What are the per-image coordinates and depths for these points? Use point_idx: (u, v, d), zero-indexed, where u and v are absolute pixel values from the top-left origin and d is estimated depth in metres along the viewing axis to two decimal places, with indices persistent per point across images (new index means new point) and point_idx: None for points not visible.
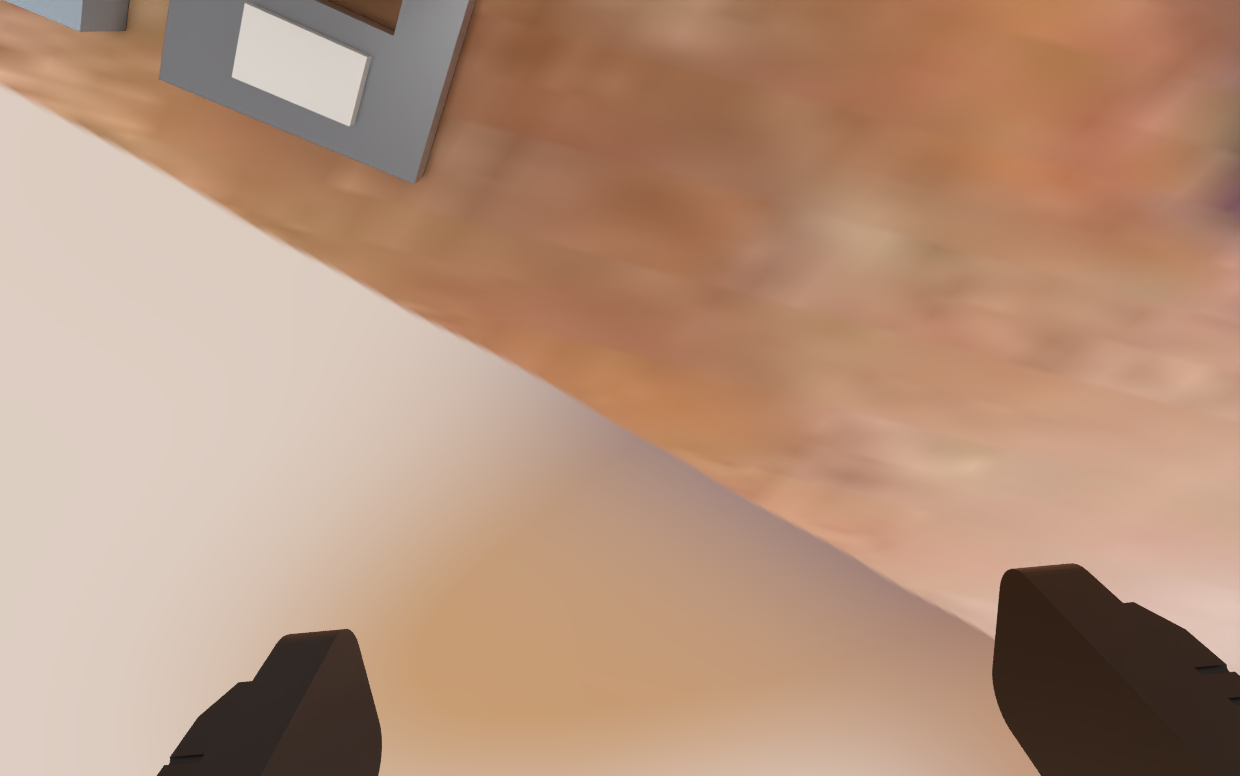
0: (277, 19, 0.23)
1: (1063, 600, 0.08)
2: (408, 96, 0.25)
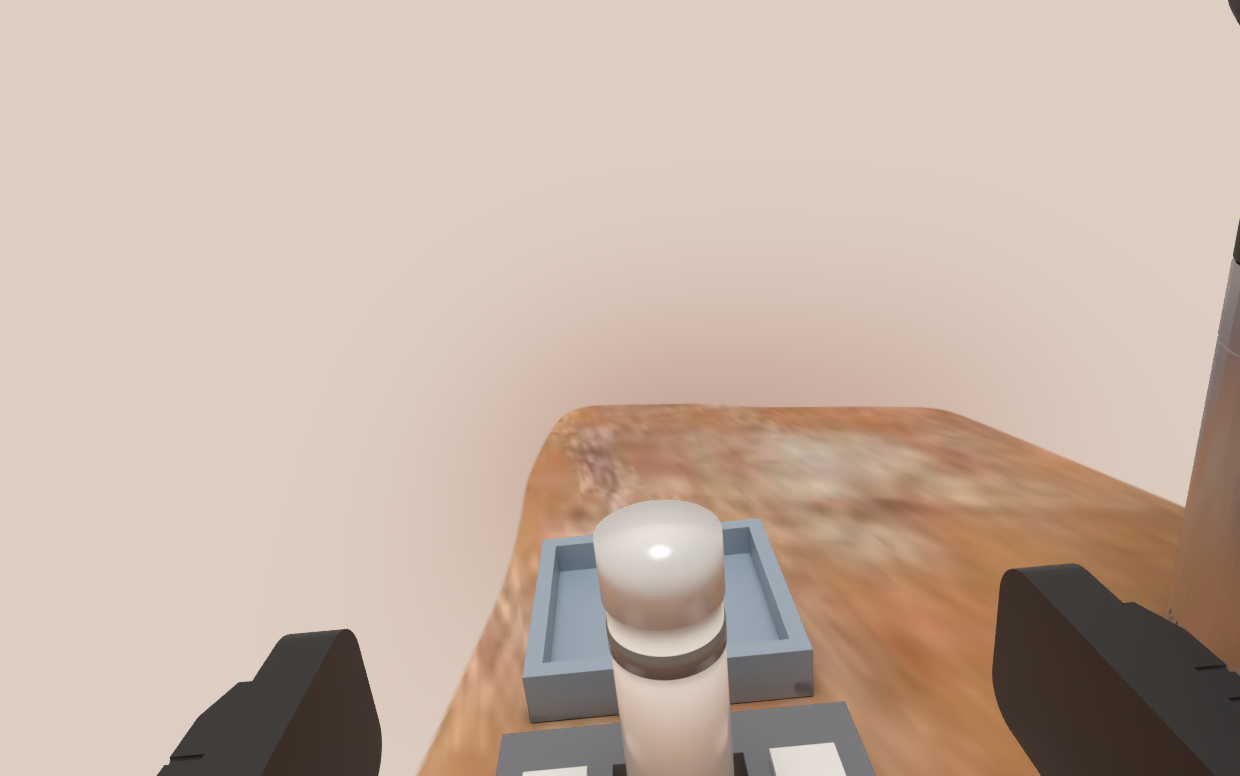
0: None
1: (1063, 600, 0.08)
2: None
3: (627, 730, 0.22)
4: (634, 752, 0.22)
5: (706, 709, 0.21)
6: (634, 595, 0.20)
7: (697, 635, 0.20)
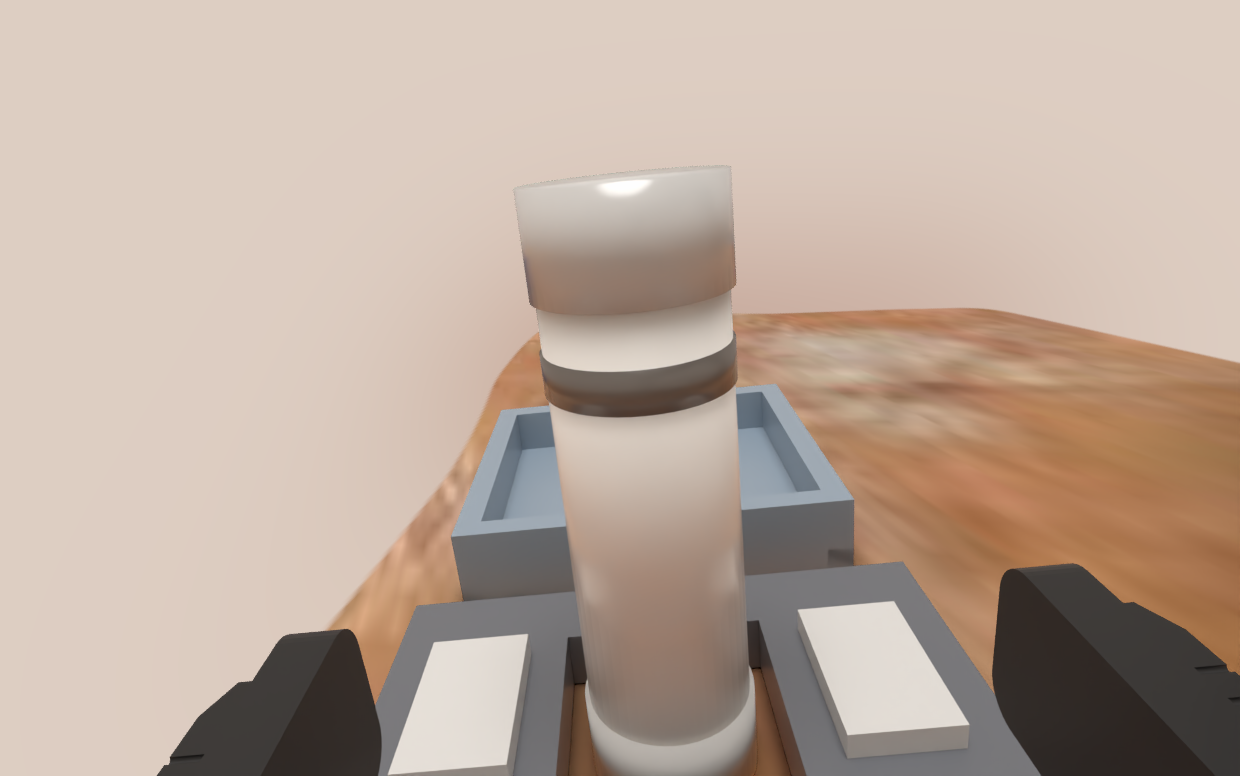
0: (520, 662, 0.17)
1: (1063, 600, 0.08)
2: None
3: (575, 533, 0.14)
4: (586, 568, 0.14)
5: (702, 483, 0.13)
6: (577, 248, 0.11)
7: (687, 335, 0.12)
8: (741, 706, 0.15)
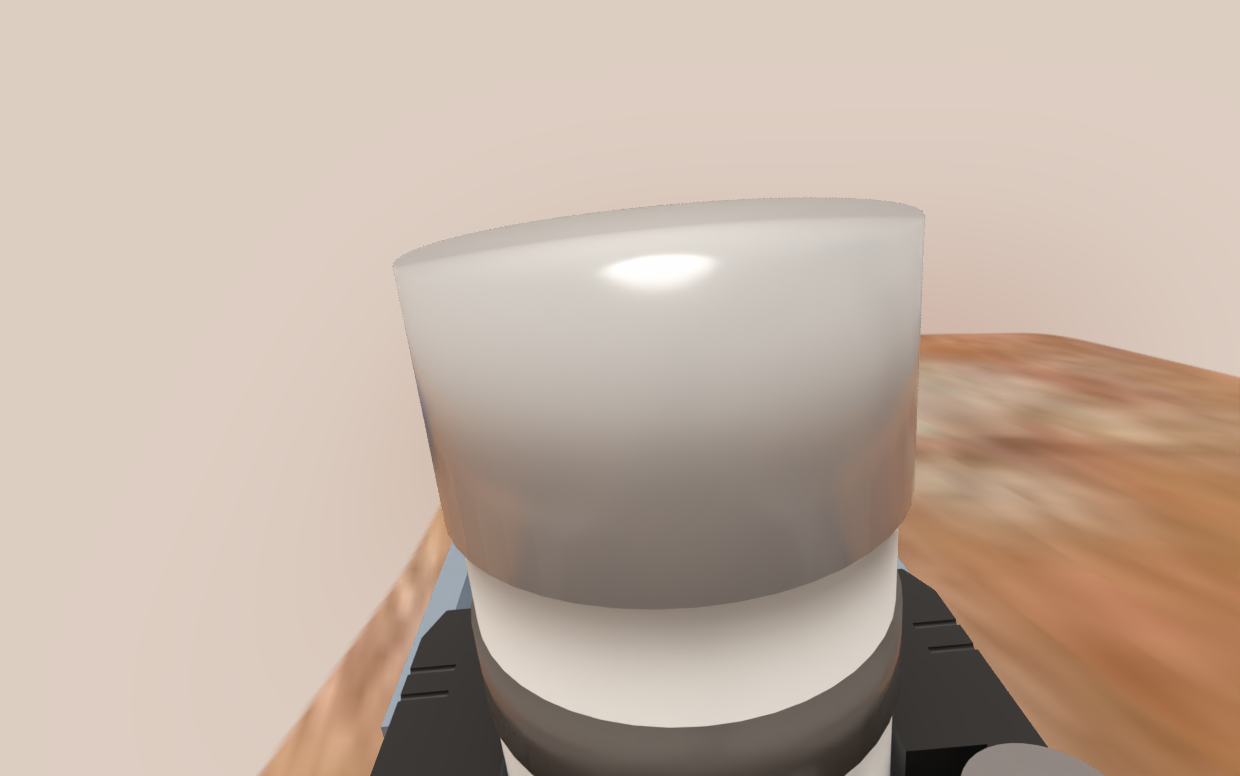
0: None
1: None
2: None
3: None
4: None
5: None
6: (539, 440, 0.04)
7: (822, 635, 0.05)
8: None
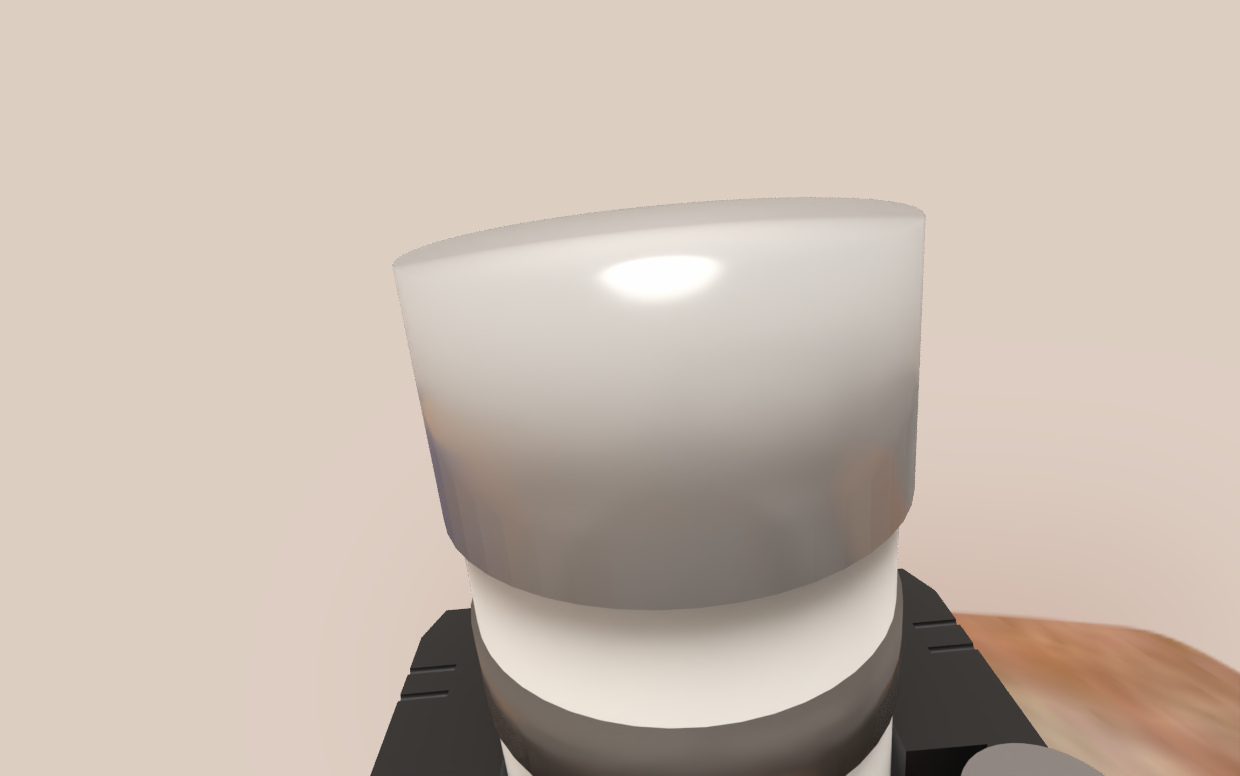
0: None
1: None
2: None
3: None
4: None
5: None
6: (541, 440, 0.04)
7: (822, 636, 0.05)
8: None
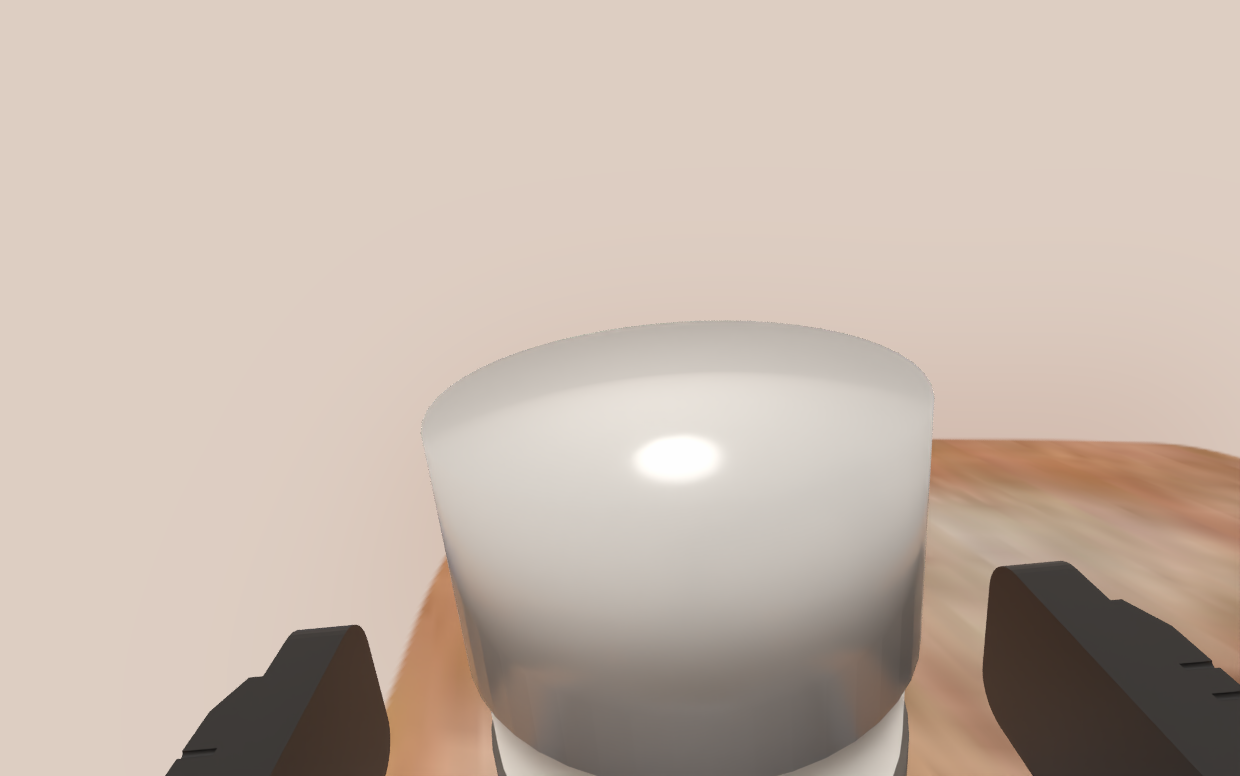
0: None
1: (1051, 597, 0.08)
2: None
3: None
4: None
5: None
6: (568, 635, 0.04)
7: None
8: None
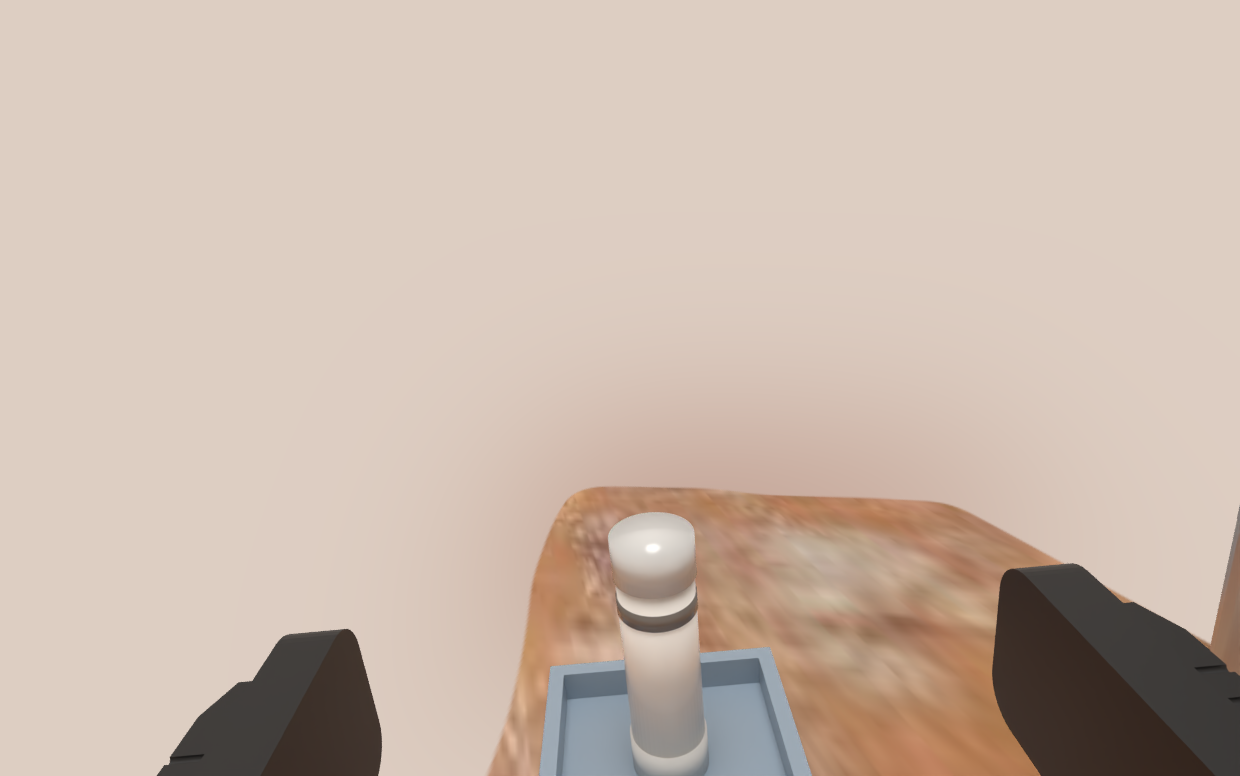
0: None
1: (1063, 600, 0.08)
2: None
3: (629, 669, 0.33)
4: (634, 684, 0.33)
5: (682, 653, 0.32)
6: (635, 575, 0.30)
7: (676, 603, 0.31)
8: (700, 740, 0.34)
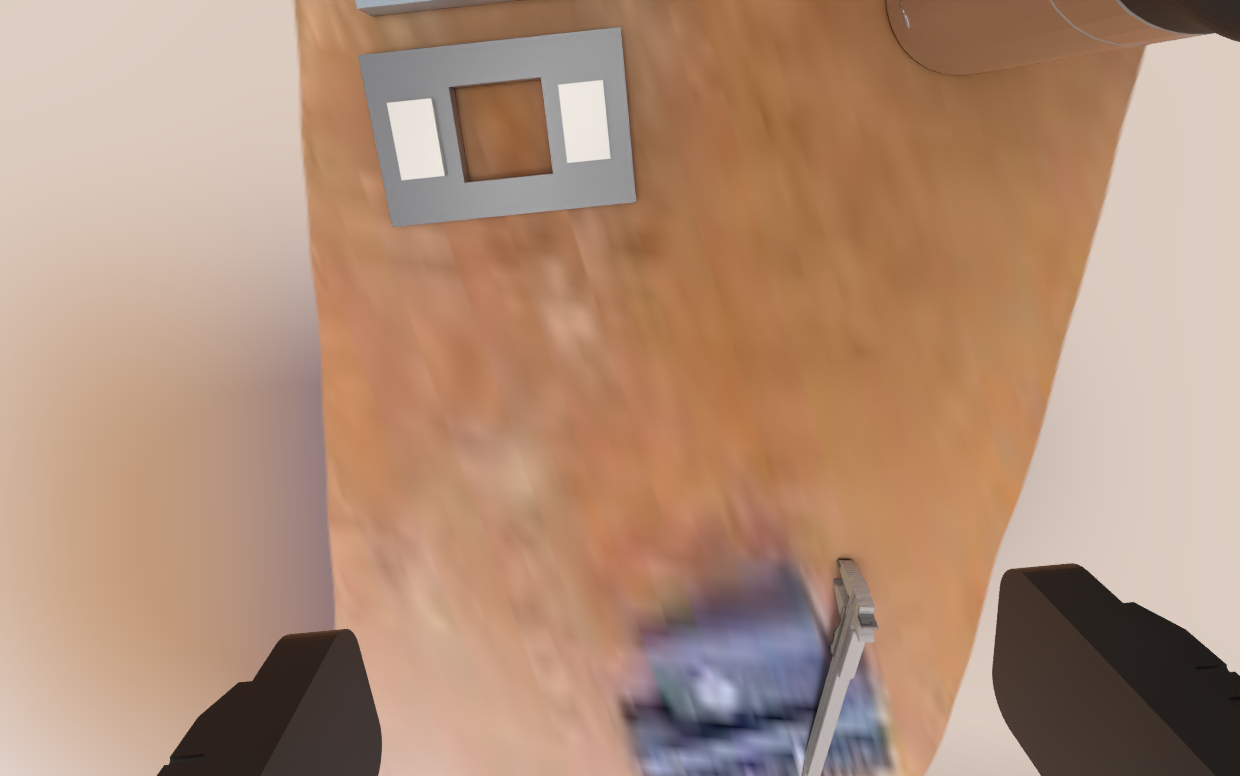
0: (433, 119, 0.39)
1: (1063, 600, 0.08)
2: (438, 203, 0.41)
3: None
4: None
5: None
6: None
7: None
8: None
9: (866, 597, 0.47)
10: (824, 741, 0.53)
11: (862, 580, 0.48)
